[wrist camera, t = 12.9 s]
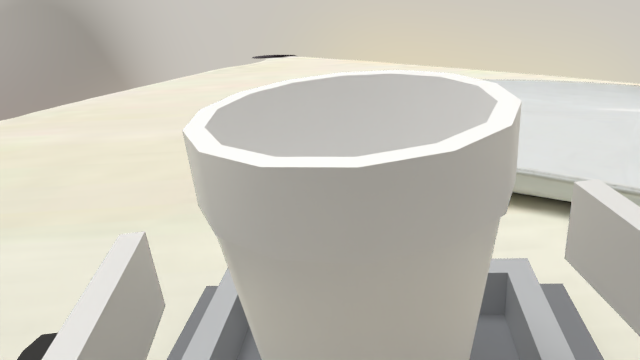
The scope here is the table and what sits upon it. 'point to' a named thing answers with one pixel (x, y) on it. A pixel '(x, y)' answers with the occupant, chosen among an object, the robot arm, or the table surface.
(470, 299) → the foam cup
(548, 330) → the tray
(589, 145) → the square plate
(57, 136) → the table surface
